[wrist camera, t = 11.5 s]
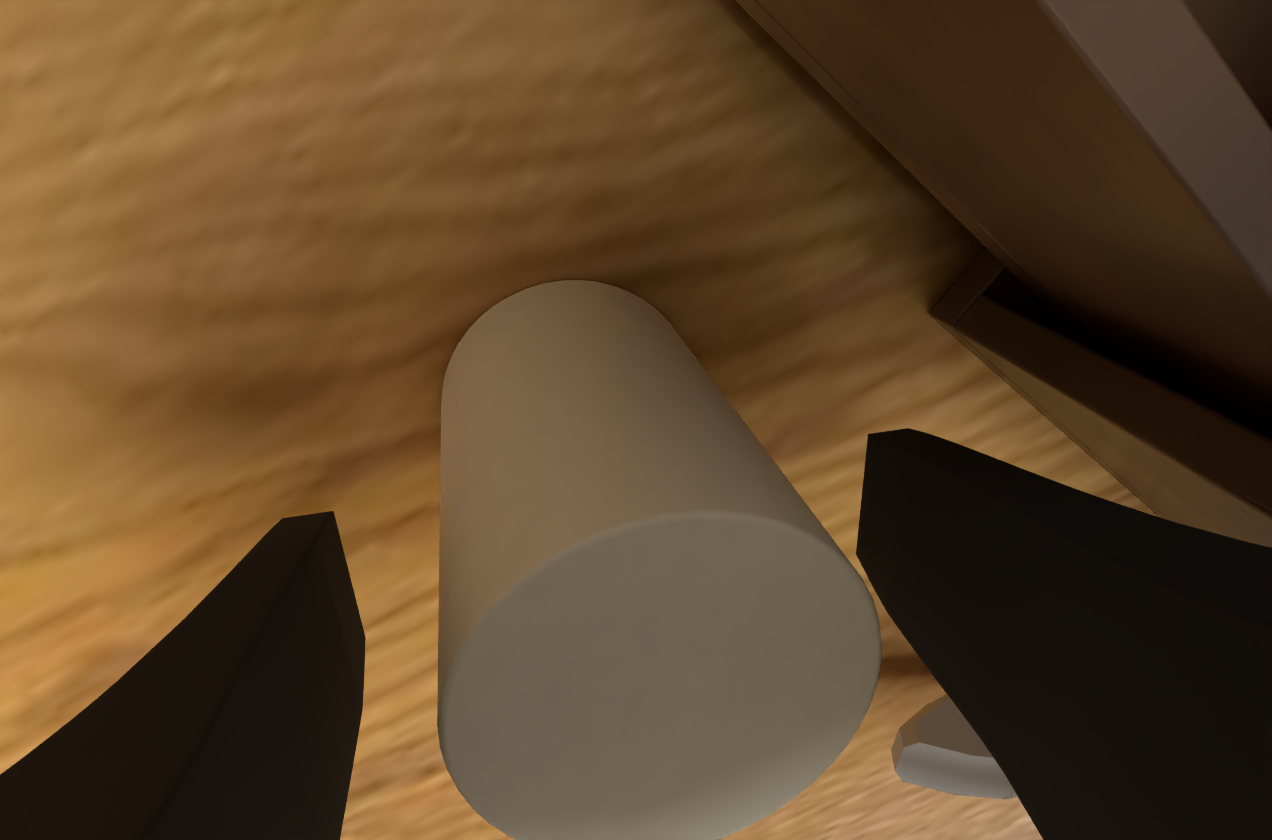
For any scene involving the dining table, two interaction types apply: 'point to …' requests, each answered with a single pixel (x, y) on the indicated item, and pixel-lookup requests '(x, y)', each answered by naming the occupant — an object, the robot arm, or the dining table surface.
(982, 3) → the drawer
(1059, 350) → the cabinet
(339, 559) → the robot arm
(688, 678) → the candle
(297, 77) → the dining table surface
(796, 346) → the dining table surface
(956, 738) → the wrench
